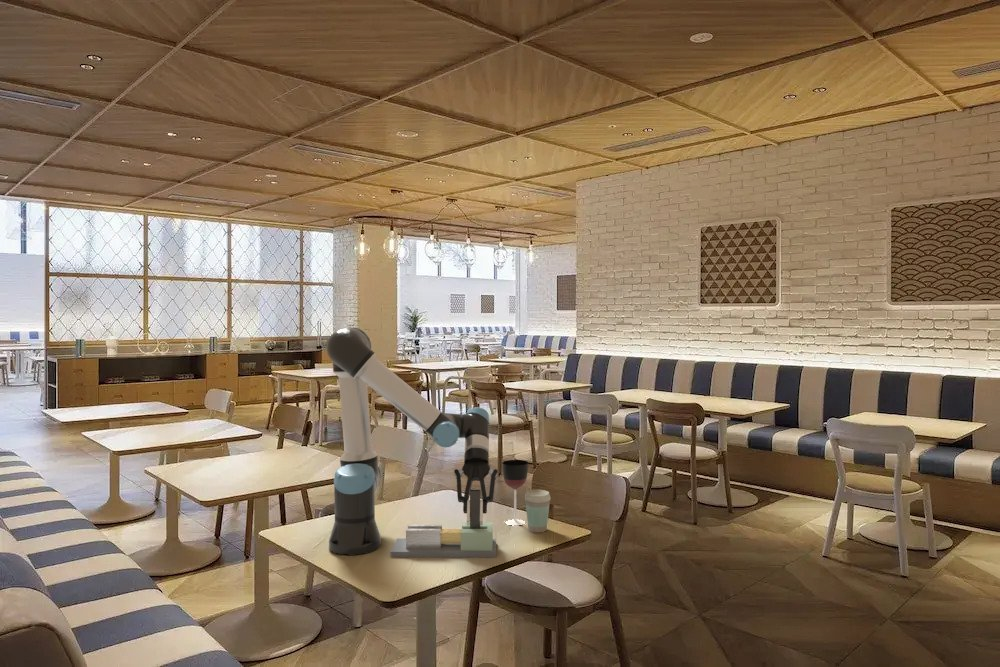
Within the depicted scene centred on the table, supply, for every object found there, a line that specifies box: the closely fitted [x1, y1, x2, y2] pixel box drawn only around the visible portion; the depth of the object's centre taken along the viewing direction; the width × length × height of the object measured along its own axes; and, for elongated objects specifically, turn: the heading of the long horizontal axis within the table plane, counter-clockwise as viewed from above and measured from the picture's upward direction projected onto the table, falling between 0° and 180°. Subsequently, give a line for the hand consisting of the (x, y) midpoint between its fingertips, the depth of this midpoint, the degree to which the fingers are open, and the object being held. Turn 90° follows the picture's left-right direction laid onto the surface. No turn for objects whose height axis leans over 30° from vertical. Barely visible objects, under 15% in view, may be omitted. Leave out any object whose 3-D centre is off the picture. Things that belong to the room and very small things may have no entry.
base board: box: [389, 537, 497, 558], centre depth 195 cm, size 30×11×2 cm, turn 90°
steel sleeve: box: [405, 524, 443, 548], centre depth 195 cm, size 10×5×5 cm, turn 90°
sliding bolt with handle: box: [441, 489, 481, 544], centre depth 195 cm, size 14×3×15 cm, turn 90°
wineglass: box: [501, 459, 529, 527], centre depth 220 cm, size 8×9×20 cm
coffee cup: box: [523, 489, 552, 533], centre depth 213 cm, size 9×8×12 cm
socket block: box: [460, 522, 494, 551], centre depth 195 cm, size 9×9×5 cm
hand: (474, 522), depth 191 cm, fingers closed on sliding bolt with handle, 3 cm apart
